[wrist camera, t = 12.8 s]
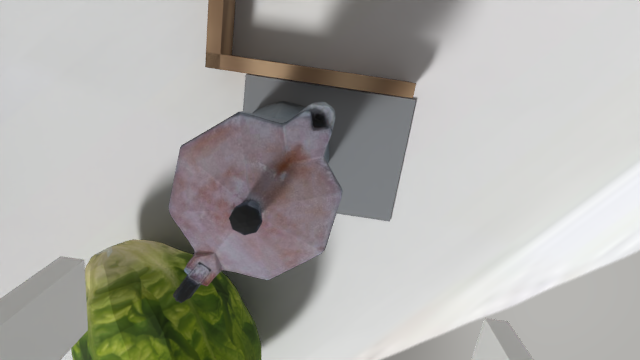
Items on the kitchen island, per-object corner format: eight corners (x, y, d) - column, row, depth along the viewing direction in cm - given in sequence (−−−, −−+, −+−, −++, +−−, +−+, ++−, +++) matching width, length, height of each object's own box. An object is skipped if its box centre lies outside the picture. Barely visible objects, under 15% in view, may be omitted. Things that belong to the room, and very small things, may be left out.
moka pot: (371, 113, 35) (409, 170, 16) (284, 234, 39) (233, 394, 20) (286, 53, 34) (219, 39, 15) (206, 185, 38) (73, 306, 19)
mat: (236, 197, 39) (236, 198, 38) (246, 74, 35) (245, 74, 35) (389, 220, 39) (389, 221, 38) (415, 99, 35) (416, 99, 35)
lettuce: (228, 196, 42) (112, 222, 27) (311, 372, 40) (233, 497, 26) (132, 251, 47) (-8, 296, 33) (201, 408, 45) (86, 528, 31)
